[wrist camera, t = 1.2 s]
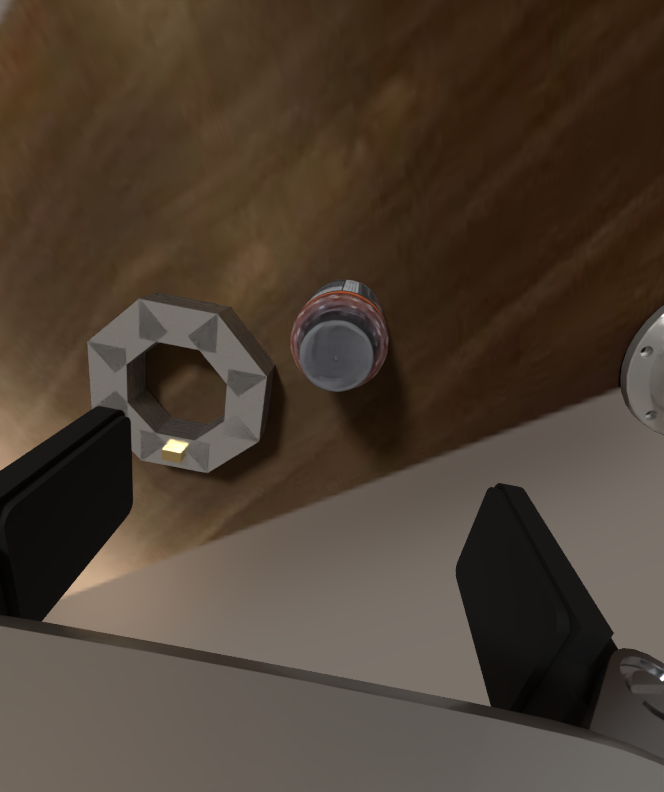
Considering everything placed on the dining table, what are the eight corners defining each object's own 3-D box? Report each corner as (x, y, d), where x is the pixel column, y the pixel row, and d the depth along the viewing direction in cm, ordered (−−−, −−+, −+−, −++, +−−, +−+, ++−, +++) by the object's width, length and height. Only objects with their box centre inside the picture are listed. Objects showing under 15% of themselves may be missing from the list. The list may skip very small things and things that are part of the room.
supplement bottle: (390, 343, 32) (403, 398, 21) (318, 360, 33) (298, 421, 22) (373, 267, 30) (379, 288, 19) (298, 288, 31) (265, 318, 20)
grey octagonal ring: (281, 316, 32) (271, 326, 28) (262, 463, 37) (252, 487, 34) (107, 282, 32) (76, 288, 28) (114, 434, 37) (89, 455, 34)
